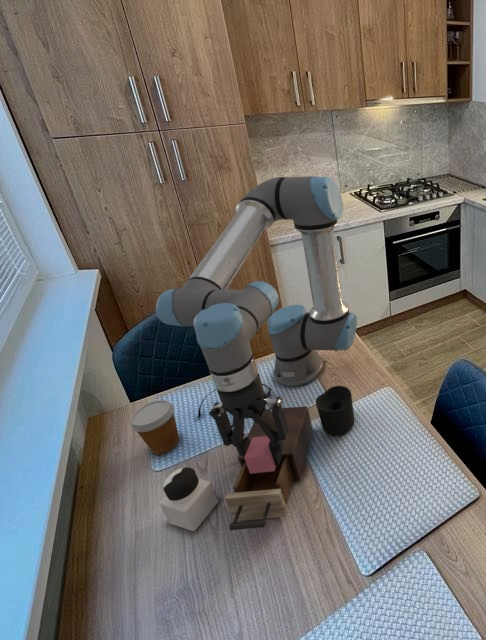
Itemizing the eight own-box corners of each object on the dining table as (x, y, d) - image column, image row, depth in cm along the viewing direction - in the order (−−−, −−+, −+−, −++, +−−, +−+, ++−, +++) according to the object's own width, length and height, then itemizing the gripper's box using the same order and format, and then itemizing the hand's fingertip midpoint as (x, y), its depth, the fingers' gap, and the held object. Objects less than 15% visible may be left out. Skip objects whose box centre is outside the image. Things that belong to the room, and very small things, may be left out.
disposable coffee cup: (182, 452, 107) (168, 419, 102) (140, 465, 104) (123, 432, 99) (189, 425, 115) (175, 394, 110) (150, 436, 112) (134, 404, 107)
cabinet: (300, 480, 99) (292, 453, 95) (247, 485, 98) (237, 458, 94) (313, 431, 112) (307, 406, 108) (267, 435, 111) (259, 409, 107)
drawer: (279, 539, 86) (271, 516, 82) (224, 545, 85) (214, 522, 82) (301, 462, 102) (295, 440, 99) (255, 466, 101) (247, 444, 98)
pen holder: (323, 414, 117) (317, 388, 113) (356, 409, 119) (351, 383, 114) (320, 441, 109) (314, 414, 105) (355, 435, 110) (351, 408, 106)
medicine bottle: (219, 501, 94) (204, 466, 89) (194, 532, 88) (177, 497, 83) (195, 494, 96) (179, 459, 91) (169, 523, 90) (150, 488, 85)
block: (257, 453, 90) (252, 437, 88) (280, 450, 90) (275, 435, 88) (250, 473, 85) (244, 457, 83) (274, 471, 86) (268, 455, 83)
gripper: (178, 398, 73) (214, 482, 83) (280, 389, 75) (303, 473, 85) (197, 370, 80) (229, 450, 90) (290, 362, 81) (311, 442, 91)
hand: (265, 461), depth 87 cm, fingers closed on block, 5 cm apart
